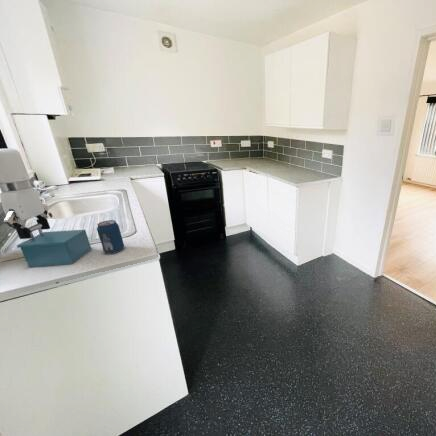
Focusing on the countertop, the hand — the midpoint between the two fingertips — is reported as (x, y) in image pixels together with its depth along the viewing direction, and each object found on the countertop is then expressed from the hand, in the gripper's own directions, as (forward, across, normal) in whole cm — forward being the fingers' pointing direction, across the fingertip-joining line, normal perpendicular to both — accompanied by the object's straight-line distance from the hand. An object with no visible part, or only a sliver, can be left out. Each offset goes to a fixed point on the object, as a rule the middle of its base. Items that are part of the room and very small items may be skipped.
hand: (35, 233), depth 89 cm
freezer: (+11, 0, +6) cm, 12 cm away
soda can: (+11, -3, +22) cm, 25 cm away
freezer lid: (+3, 0, +5) cm, 6 cm away
